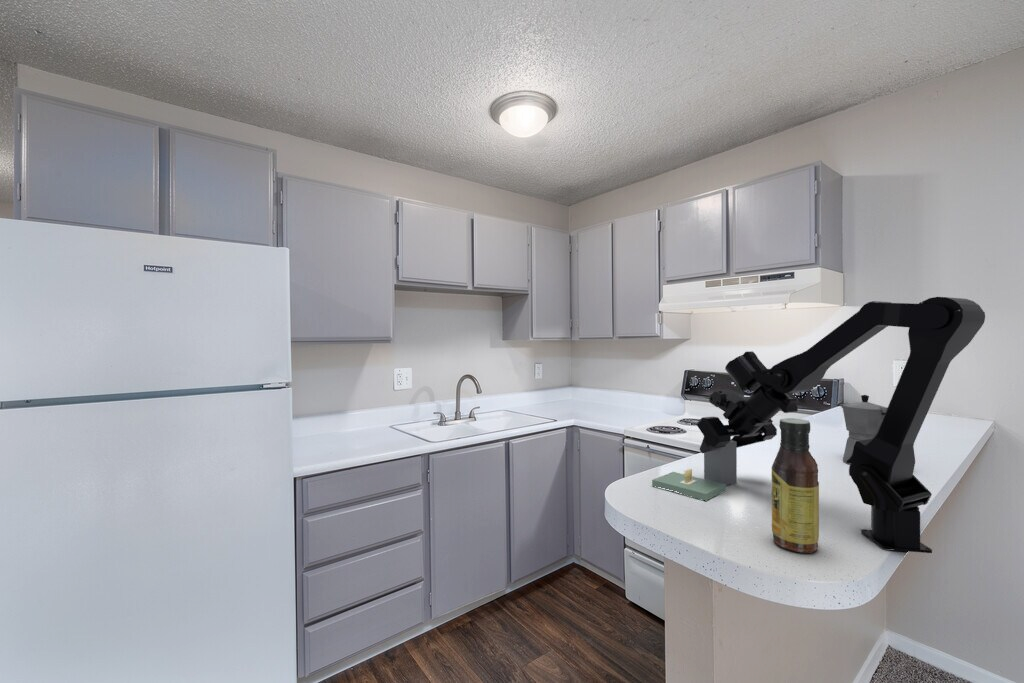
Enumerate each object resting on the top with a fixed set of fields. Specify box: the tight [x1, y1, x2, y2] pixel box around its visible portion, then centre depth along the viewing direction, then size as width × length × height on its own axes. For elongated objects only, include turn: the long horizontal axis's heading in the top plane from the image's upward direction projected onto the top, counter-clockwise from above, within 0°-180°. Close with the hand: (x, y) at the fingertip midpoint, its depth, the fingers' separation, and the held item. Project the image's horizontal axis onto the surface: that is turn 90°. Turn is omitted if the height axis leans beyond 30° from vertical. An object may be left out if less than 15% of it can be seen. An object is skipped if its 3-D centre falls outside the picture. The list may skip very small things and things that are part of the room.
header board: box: [651, 468, 727, 502], centre depth 96 cm, size 12×9×4 cm
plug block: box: [703, 440, 738, 486], centre depth 100 cm, size 4×5×10 cm
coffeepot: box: [839, 394, 888, 466], centre depth 113 cm, size 15×9×18 cm, turn 14°
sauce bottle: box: [771, 417, 820, 554], centre depth 69 cm, size 6×6×20 cm
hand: (715, 449), depth 101 cm, fingers open, 8 cm apart
